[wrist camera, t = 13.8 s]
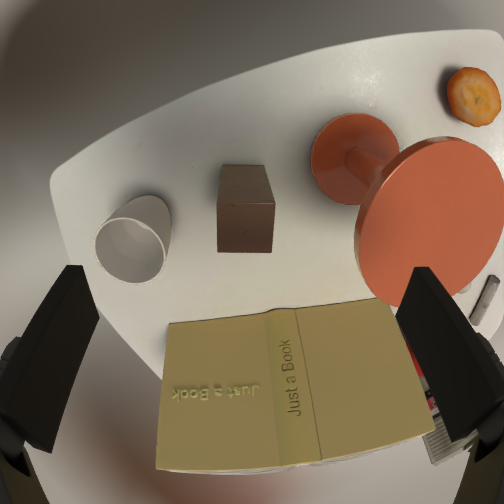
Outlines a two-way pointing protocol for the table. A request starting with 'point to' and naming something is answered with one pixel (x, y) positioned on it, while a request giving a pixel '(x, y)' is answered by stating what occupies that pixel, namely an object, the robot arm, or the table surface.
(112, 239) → the cup
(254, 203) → the walnut block
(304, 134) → the table surface
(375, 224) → the orange pedestal stand
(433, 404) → the cassette tape recorder
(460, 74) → the fruit
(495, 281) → the rod
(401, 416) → the book
